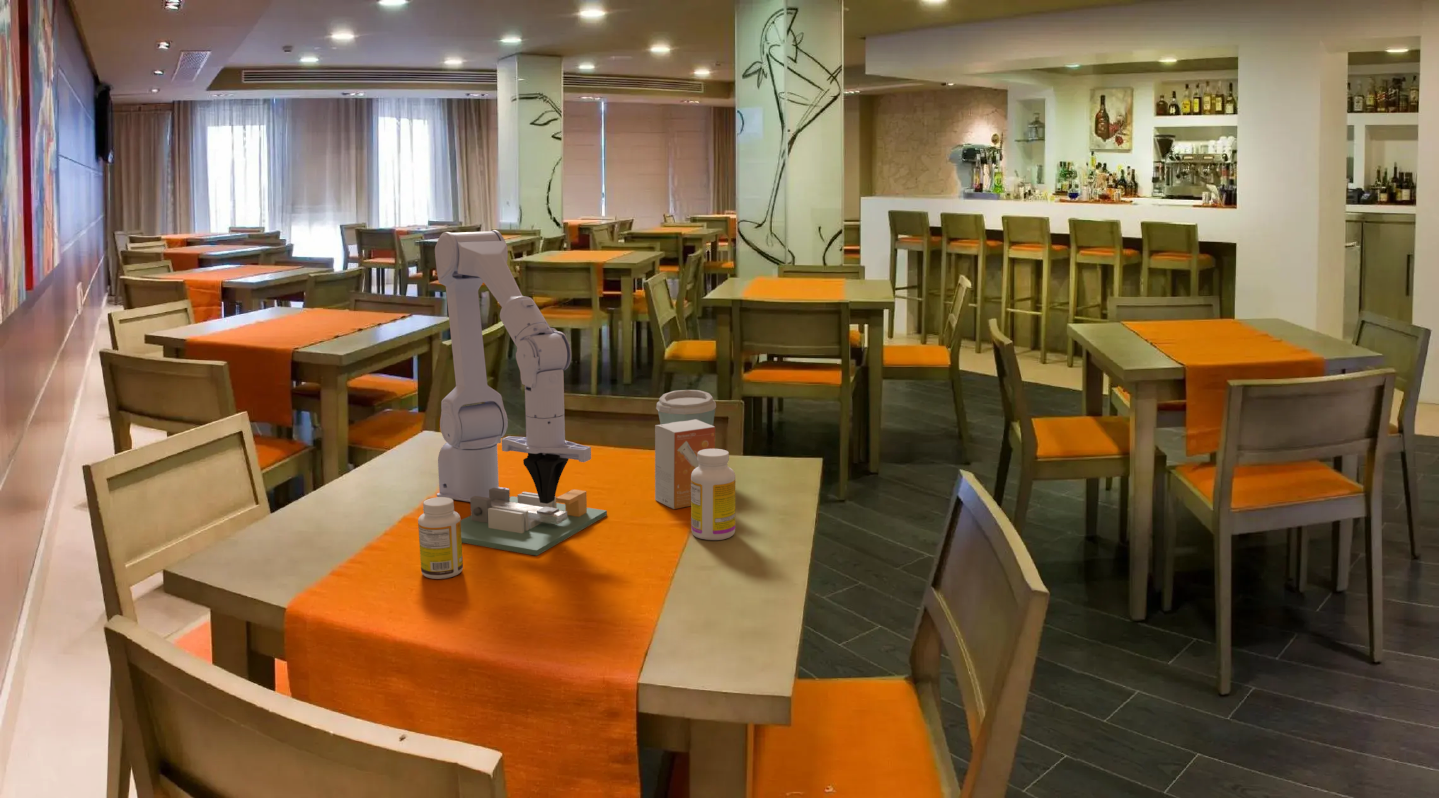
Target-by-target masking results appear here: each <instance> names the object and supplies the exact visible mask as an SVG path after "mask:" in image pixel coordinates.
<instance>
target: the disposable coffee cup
mask: <svg viewBox="0 0 1439 798" xmlns="http://www.w3.org/2000/svg"><path fill="white" fill-rule="evenodd" d="M655 405H656V406H655V409H656V410H657V411H658V412H657V414H658V418H659V425H661V424H668V423H672V422H679V421H689V420H694V419H697V420H699V421H702V422H704V423H707V424H709V425H712V426H714V421H715V415H716V414H715V413H716V408H717V403H716V401H715V400H714V397H713V396H712V395H711V393H710V392H707V391H703V390H700V389H699V390H698V389H680V390H672V391H669V392H666V393H663V394H662V395H661V396H660V397H659V398H658V401H657V402H656V404H655Z"/></svg>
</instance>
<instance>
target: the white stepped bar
mask: <svg viewBox="0 0 1439 798" xmlns="http://www.w3.org/2000/svg"><path fill="white" fill-rule="evenodd" d="M491 506H492V508H493V506H501V507H508V508H514V509H520V510H527V511H528V520H534V521H539V522H545V523H551V524H559V523H560V522H562V521H564V520H566V519H567V511H563V510H559V509H558V508H552V507H546V506H545V507H539V506H533V505H527V504H521V503H515V502H509V501H503V500H498V499H496V500H493V501H491Z"/></svg>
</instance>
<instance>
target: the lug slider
mask: <svg viewBox="0 0 1439 798" xmlns="http://www.w3.org/2000/svg"><path fill="white" fill-rule="evenodd" d="M587 500H588V499H587V491H586V490H581V489H574V488H573V489H570V491H567V492H565V493H563V494H561V495H559V496H556V503H560V504H565V510H566V511H567V515H570V516H576V517H580V516H581V515H583V514H585V513H587V508H588V506H587V504H588V503H587Z"/></svg>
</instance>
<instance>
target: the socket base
mask: <svg viewBox="0 0 1439 798" xmlns="http://www.w3.org/2000/svg"><path fill="white" fill-rule="evenodd" d="M556 498H557V496H556V495H555V499H554V501H552V502H550V503H548V504H545V503H540V500H539V497H538V493H536V492H528V491H522V492H521V493H518V494H517V496H510V491H509V490H506V489H500V488H491V489H489V498H486V497H480V496H473V497H471V498H470V502H469V503H470V515H468V516H467V517H464V518H462V519H460V520H461V540H462V544H469V545H474V546H479V547H480V546H481V547H484V548H485V547H486V548H490V549H491V548H492V549H497V550H503V551H508V552H509V551H510V552H513V553H520V554H525V555H531V556H536V557H537V556H539V555H541V554H542V553H544V552H545V551H547V550H549V549H551V548H553V547H555V546H556V545H557V544H560V543H562V542H563V541H565V540H566V539H568V538H571V537H572V536H574V535H576V534H578V532H580V531H582V530H584V529H586V528H587V527H588V528H589V526H591V525H593V524H594V523H596V522H598V521H599V520H602V519H603V518H605V517H607V515H608V511H607V510H606V509H605V510H604V509H599V508H592V507H587V513H585V514H583V515H581V516H580V517H576V516H570V515H567V519H566V520H564V521H562V522H560V523H559V524H551V523H545V522H539V521H534V520H528V511H527V510H520V509H514V508H508V507H501V506H493V508H492V506H491V501H493V500H496V499H498V500H503V501H509V502H515V503H521V504H527V505H533V506H539V507H545V506H546V507H552V508H558V509H559V510H563V511H566V510H565V504H564V503H558V502H556Z"/></svg>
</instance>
